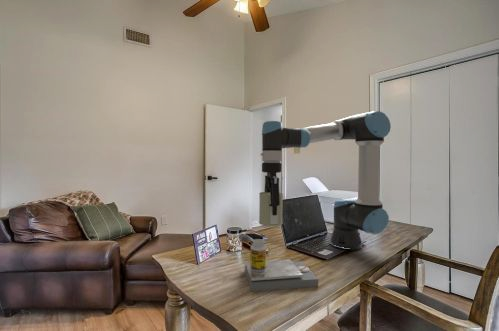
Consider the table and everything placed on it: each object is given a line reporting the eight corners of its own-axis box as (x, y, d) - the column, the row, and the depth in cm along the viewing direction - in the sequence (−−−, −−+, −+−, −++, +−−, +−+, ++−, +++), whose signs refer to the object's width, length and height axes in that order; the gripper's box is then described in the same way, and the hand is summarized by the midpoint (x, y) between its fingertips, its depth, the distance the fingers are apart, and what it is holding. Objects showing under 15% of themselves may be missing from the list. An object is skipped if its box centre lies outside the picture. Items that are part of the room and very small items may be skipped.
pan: (290, 261, 98) (290, 259, 98) (302, 277, 85) (302, 274, 85) (245, 264, 95) (245, 262, 95) (251, 280, 82) (251, 278, 82)
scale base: (301, 267, 100) (301, 259, 100) (318, 286, 85) (318, 277, 85) (244, 271, 96) (244, 263, 96) (251, 291, 81) (251, 282, 81)
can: (281, 226, 91) (281, 194, 91) (256, 225, 94) (256, 193, 93) (284, 221, 100) (284, 191, 100) (261, 219, 102) (261, 190, 102)
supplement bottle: (249, 271, 87) (249, 242, 87) (251, 265, 93) (251, 237, 92) (265, 273, 86) (265, 243, 86) (266, 266, 92) (266, 238, 92)
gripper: (257, 161, 107) (256, 214, 107) (267, 162, 85) (267, 228, 86) (274, 161, 108) (274, 214, 108) (289, 162, 86) (288, 227, 87)
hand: (271, 220), depth 97 cm, fingers closed on can, 9 cm apart
